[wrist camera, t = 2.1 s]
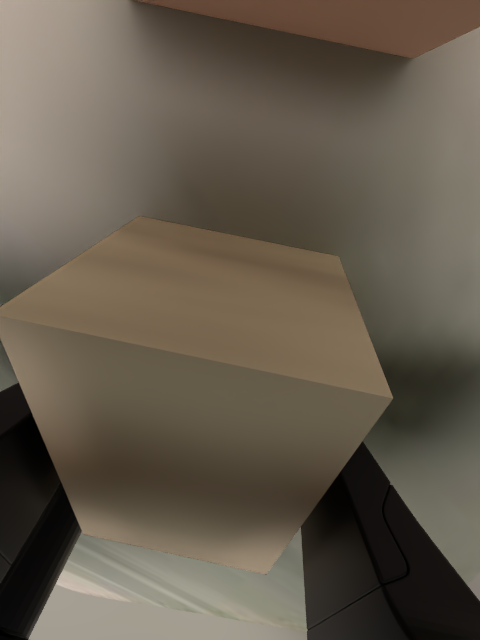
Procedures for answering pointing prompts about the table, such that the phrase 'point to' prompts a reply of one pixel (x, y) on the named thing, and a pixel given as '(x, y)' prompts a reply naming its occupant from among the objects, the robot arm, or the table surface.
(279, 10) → the terracotta brick
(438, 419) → the table surface
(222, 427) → the birch brick
